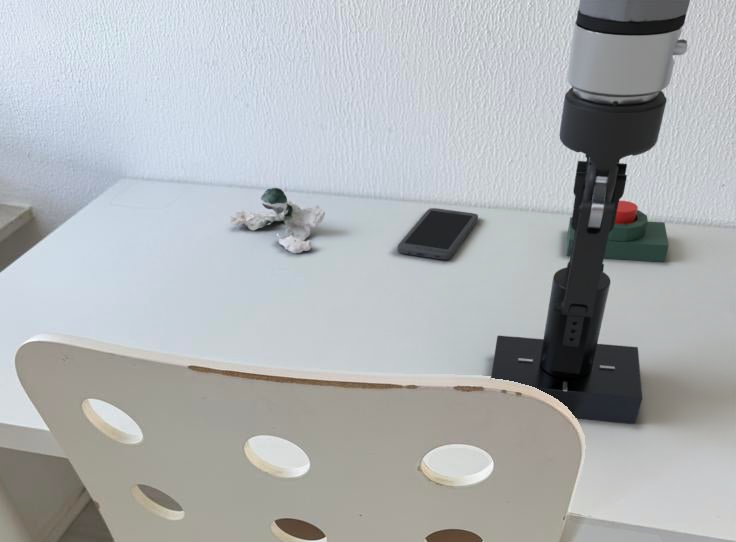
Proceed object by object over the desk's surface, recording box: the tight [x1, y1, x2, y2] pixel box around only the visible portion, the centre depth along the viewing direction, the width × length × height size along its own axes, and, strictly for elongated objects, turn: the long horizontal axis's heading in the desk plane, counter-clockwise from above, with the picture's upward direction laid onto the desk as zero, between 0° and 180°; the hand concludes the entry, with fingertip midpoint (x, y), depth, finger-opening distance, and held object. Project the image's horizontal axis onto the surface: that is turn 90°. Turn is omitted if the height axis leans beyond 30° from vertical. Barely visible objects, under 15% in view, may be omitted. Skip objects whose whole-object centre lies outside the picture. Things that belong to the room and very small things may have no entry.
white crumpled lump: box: [228, 187, 326, 254], centre depth 105 cm, size 15×8×8 cm
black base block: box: [490, 335, 643, 425], centre depth 76 cm, size 14×9×3 cm, turn 78°
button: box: [615, 200, 639, 224], centre depth 97 cm, size 4×4×2 cm
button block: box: [566, 209, 669, 263], centre depth 99 cm, size 12×7×4 cm, turn 78°
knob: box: [540, 266, 611, 378], centre depth 72 cm, size 5×5×9 cm
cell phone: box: [397, 207, 479, 261], centre depth 104 cm, size 7×14×1 cm, turn 157°
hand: (567, 353), depth 74 cm, fingers closed on knob, 5 cm apart
